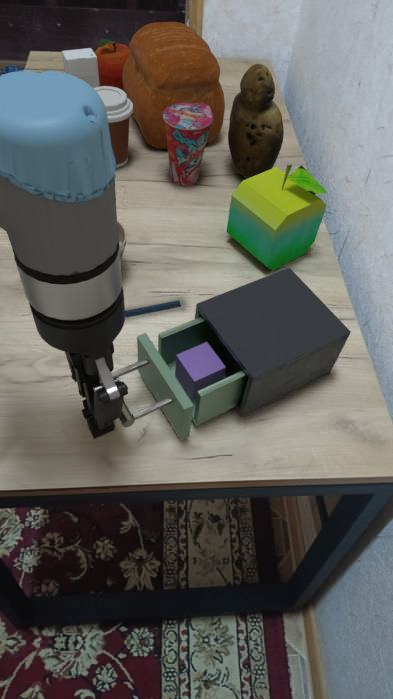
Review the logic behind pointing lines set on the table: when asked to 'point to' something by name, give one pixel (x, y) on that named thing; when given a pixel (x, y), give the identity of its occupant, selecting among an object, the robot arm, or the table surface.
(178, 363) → the purple cube
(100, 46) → the fruit
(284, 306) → the charcoal drawer box
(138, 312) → the pencil
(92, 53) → the cosmetic box
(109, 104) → the coffee cup
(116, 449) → the table surface
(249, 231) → the apple
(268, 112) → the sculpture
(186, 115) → the cup
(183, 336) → the green drawer
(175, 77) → the bread
